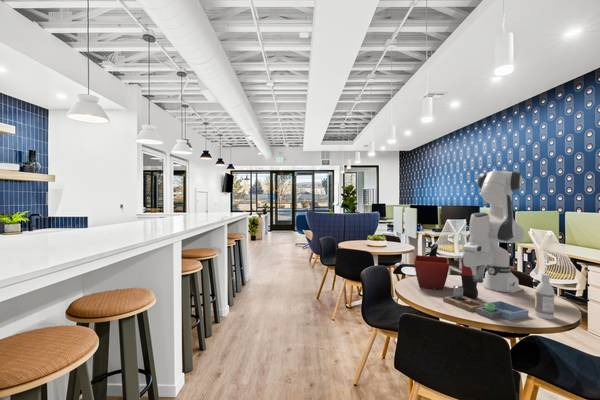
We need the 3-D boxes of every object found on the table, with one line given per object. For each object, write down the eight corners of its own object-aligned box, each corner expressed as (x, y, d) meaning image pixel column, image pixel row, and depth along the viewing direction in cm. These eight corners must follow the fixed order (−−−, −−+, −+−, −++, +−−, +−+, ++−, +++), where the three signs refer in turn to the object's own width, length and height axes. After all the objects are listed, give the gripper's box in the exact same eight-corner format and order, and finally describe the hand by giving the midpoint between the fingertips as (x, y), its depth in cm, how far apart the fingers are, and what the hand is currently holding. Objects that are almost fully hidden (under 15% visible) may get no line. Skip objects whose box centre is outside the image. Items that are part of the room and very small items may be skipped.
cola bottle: (476, 296, 175) (477, 242, 174) (479, 301, 167) (481, 244, 166) (459, 294, 177) (460, 241, 177) (461, 299, 169) (463, 243, 169)
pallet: (459, 299, 169) (459, 294, 169) (487, 309, 155) (487, 304, 155) (443, 302, 165) (443, 297, 165) (470, 312, 150) (470, 307, 150)
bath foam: (535, 313, 151) (536, 271, 151) (553, 317, 147) (555, 274, 146) (534, 317, 146) (535, 274, 145) (553, 321, 141) (554, 277, 141)
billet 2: (485, 282, 154) (485, 265, 154) (480, 283, 151) (480, 266, 151) (475, 279, 157) (476, 263, 157) (470, 281, 155) (471, 264, 155)
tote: (500, 307, 158) (500, 300, 158) (528, 317, 145) (528, 310, 145) (481, 311, 152) (482, 304, 152) (509, 321, 140) (509, 313, 140)
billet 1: (457, 300, 166) (457, 285, 166) (464, 303, 162) (465, 287, 162) (451, 301, 164) (451, 286, 164) (458, 304, 160) (458, 288, 160)
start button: (488, 309, 149) (488, 302, 149) (496, 312, 145) (497, 305, 145) (482, 310, 147) (482, 303, 147) (490, 313, 144) (491, 306, 144)
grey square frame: (487, 312, 152) (487, 305, 152) (503, 318, 144) (504, 311, 144) (475, 314, 148) (475, 307, 148) (491, 320, 141) (492, 313, 141)
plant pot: (413, 288, 188) (413, 260, 187) (414, 280, 205) (415, 254, 205) (448, 293, 180) (449, 263, 180) (447, 284, 198) (448, 257, 198)
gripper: (484, 243, 162) (483, 270, 162) (460, 246, 151) (460, 275, 152) (497, 245, 157) (496, 273, 157) (473, 248, 146) (473, 278, 146)
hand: (478, 274), depth 154 cm, fingers closed on billet 2, 4 cm apart
